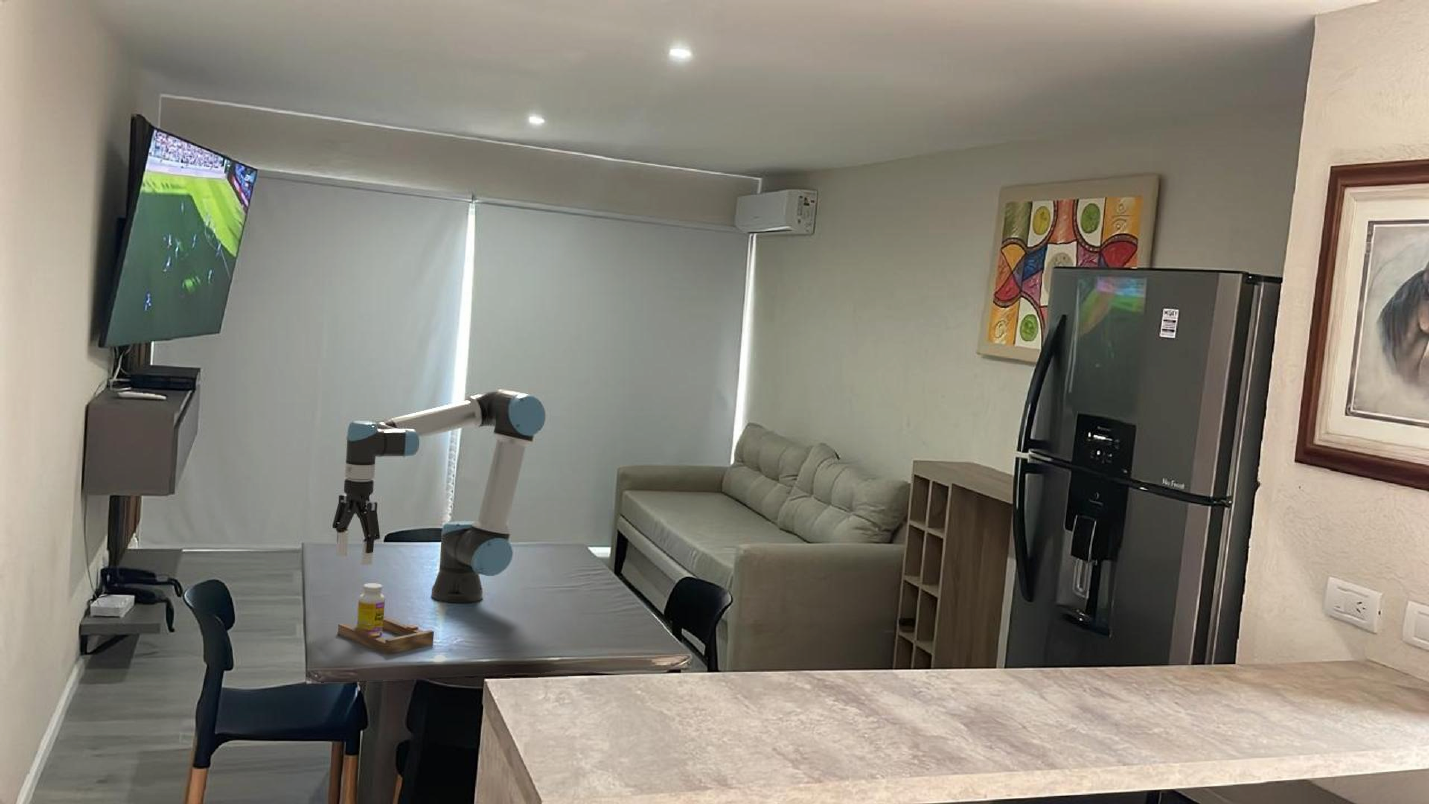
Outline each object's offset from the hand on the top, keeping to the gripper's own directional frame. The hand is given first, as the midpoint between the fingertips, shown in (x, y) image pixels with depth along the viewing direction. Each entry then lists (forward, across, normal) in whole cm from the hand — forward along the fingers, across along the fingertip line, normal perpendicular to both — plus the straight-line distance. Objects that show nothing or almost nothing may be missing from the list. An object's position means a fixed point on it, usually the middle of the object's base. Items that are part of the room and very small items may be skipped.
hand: (354, 560), depth 306 cm
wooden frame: (+18, +15, 0) cm, 23 cm away
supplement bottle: (+18, +9, 0) cm, 20 cm away
